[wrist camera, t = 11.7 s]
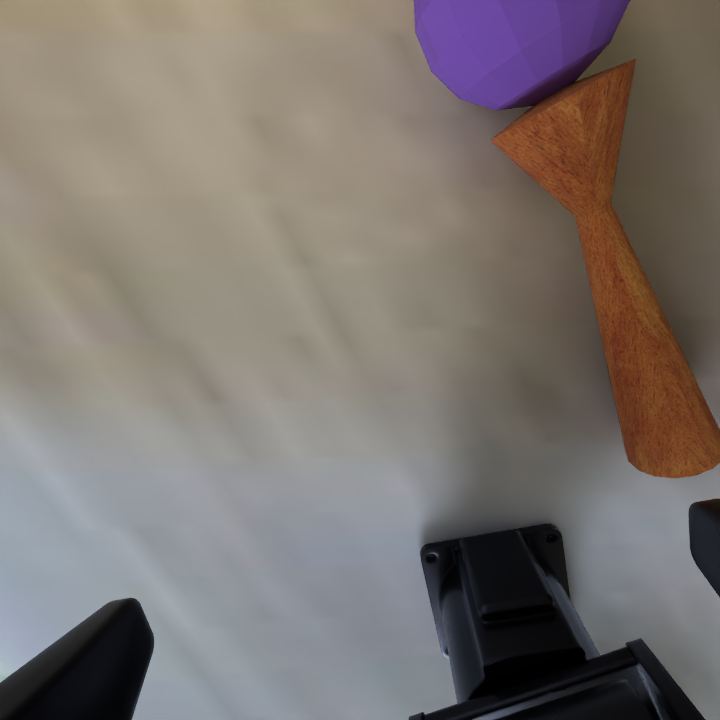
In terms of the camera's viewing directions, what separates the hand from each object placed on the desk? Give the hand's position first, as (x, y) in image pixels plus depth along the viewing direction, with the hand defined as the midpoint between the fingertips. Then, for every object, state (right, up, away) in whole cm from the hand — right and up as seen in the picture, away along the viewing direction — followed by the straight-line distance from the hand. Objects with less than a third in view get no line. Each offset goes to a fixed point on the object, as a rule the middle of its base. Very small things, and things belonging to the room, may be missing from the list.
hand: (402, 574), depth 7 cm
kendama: (+7, +9, +10) cm, 15 cm away
